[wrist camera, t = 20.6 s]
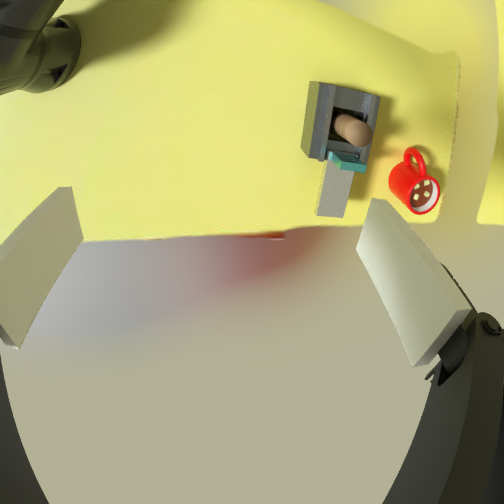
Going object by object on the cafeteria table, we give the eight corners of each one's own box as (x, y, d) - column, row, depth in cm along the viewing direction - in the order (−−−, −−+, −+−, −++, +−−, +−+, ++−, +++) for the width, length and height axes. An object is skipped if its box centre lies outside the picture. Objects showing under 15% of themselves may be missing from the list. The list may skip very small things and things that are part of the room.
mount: (300, 147, 45) (310, 160, 40) (309, 81, 38) (321, 82, 33) (353, 155, 46) (369, 168, 40) (364, 92, 39) (384, 97, 33)
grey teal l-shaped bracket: (314, 212, 46) (323, 229, 41) (327, 149, 39) (338, 160, 35) (340, 214, 46) (351, 231, 42) (355, 154, 40) (369, 165, 35)
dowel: (322, 127, 43) (346, 145, 34) (325, 107, 41) (351, 119, 31) (341, 130, 44) (369, 149, 34) (344, 111, 41) (375, 125, 32)
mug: (417, 138, 44) (440, 151, 38) (420, 191, 51) (439, 209, 44) (384, 145, 45) (405, 159, 39) (389, 200, 52) (407, 219, 46)
